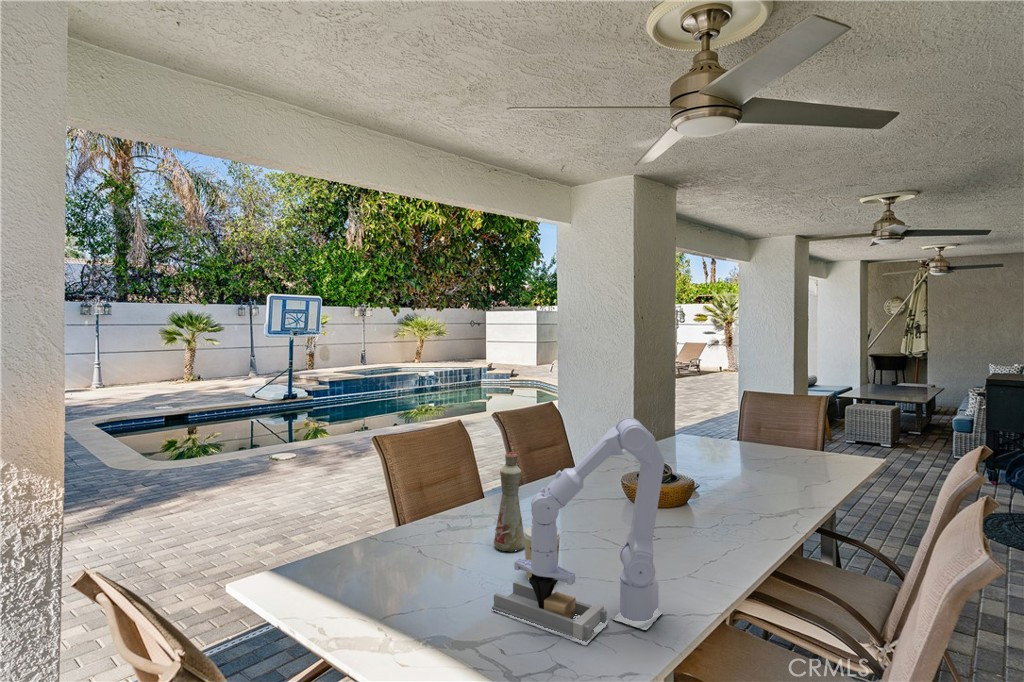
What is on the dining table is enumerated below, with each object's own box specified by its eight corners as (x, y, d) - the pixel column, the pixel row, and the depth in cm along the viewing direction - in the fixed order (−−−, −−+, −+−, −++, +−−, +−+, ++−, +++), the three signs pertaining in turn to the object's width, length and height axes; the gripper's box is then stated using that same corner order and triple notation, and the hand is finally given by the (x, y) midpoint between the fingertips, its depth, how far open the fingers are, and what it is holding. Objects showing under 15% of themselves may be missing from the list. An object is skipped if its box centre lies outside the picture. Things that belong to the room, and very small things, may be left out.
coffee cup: (529, 588, 141) (529, 540, 141) (519, 572, 150) (519, 526, 150) (565, 583, 144) (565, 536, 144) (552, 568, 153) (553, 523, 153)
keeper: (555, 608, 129) (555, 591, 129) (575, 615, 126) (575, 597, 126) (543, 618, 125) (544, 600, 125) (563, 625, 122) (564, 607, 122)
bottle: (522, 554, 161) (522, 456, 160) (490, 552, 163) (491, 454, 162) (527, 543, 170) (528, 449, 169) (497, 540, 172) (498, 447, 171)
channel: (517, 594, 138) (517, 577, 138) (607, 625, 124) (608, 606, 124) (491, 611, 130) (492, 593, 130) (586, 646, 116) (586, 626, 116)
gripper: (581, 548, 127) (581, 609, 127) (525, 535, 135) (525, 592, 135) (566, 560, 121) (566, 623, 121) (509, 545, 129) (509, 604, 129)
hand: (543, 607), depth 128 cm, fingers closed
